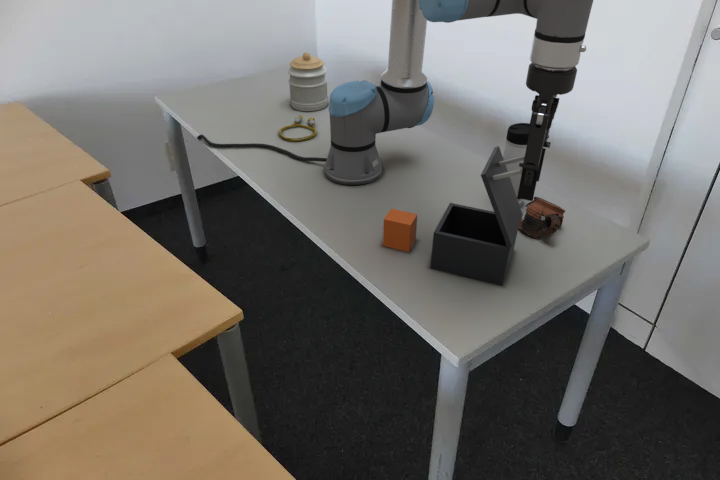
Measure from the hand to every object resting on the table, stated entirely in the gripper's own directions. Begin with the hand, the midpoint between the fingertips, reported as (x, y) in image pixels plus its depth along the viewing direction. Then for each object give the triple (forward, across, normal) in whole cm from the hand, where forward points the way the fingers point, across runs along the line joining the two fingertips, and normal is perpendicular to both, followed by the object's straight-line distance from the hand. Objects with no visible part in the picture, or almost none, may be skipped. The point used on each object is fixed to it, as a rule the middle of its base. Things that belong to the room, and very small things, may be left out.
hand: (528, 188), depth 100 cm
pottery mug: (+19, +17, -4) cm, 26 cm away
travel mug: (+19, +26, +5) cm, 33 cm away
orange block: (+19, 0, +24) cm, 31 cm away
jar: (+19, +65, +80) cm, 105 cm away
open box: (+19, 0, +8) cm, 21 cm away
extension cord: (+19, +44, +72) cm, 87 cm away
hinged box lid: (+3, 0, +5) cm, 5 cm away
